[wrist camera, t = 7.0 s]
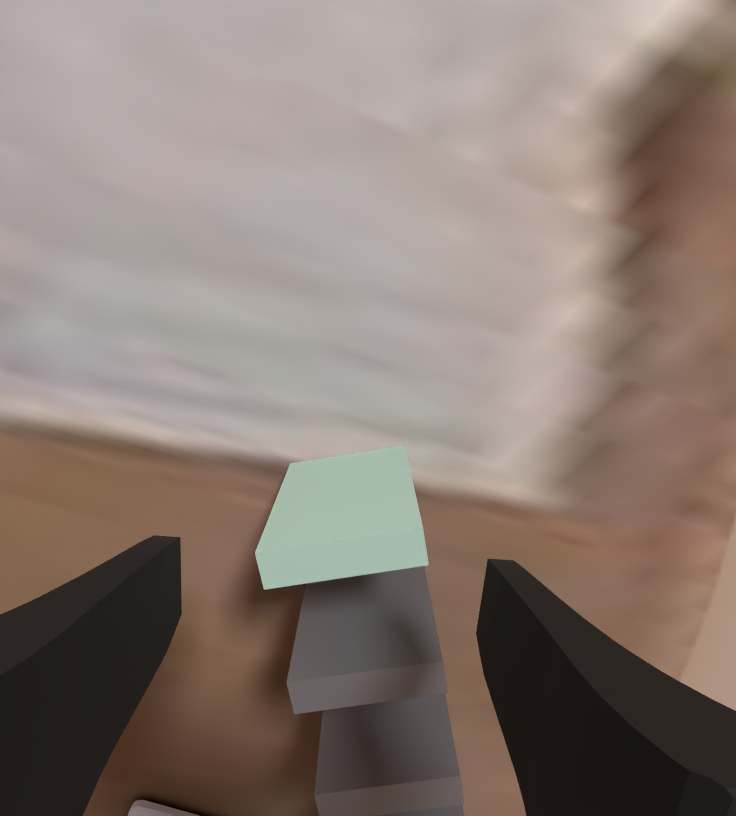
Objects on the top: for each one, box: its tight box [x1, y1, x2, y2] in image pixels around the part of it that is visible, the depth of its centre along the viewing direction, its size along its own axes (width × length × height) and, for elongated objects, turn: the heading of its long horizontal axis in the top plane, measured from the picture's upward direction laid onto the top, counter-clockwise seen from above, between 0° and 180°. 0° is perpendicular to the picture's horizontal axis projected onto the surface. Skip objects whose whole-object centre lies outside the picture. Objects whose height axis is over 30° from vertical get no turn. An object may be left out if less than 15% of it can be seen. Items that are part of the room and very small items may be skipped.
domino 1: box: [286, 566, 447, 714], centre depth 19 cm, size 1×5×7 cm, turn 99°
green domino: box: [255, 445, 429, 590], centre depth 18 cm, size 1×5×7 cm, turn 100°
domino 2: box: [314, 694, 464, 816], centre depth 20 cm, size 1×5×7 cm, turn 100°
